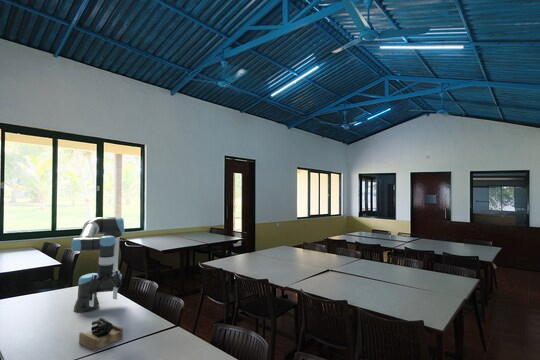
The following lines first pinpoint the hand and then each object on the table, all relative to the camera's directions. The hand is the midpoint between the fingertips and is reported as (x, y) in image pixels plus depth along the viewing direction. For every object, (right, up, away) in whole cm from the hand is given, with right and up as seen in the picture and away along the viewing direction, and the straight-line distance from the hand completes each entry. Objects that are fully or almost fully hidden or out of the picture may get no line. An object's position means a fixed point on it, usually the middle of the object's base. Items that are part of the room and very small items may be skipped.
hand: (103, 302), depth 167 cm
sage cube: (-8, -21, +10) cm, 25 cm away
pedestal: (-1, -21, -1) cm, 21 cm away
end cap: (0, -17, -1) cm, 17 cm away
